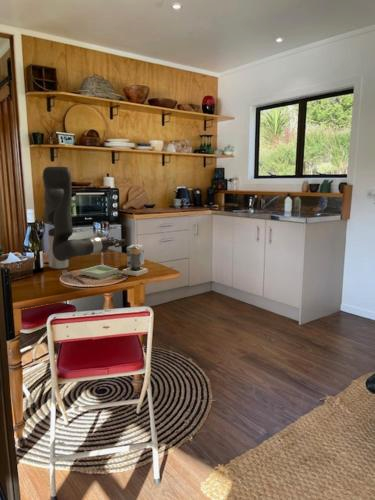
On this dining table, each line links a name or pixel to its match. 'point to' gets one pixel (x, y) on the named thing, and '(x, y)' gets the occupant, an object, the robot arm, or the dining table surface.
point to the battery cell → (135, 258)
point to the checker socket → (134, 273)
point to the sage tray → (99, 271)
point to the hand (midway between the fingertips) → (120, 240)
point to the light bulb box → (140, 254)
